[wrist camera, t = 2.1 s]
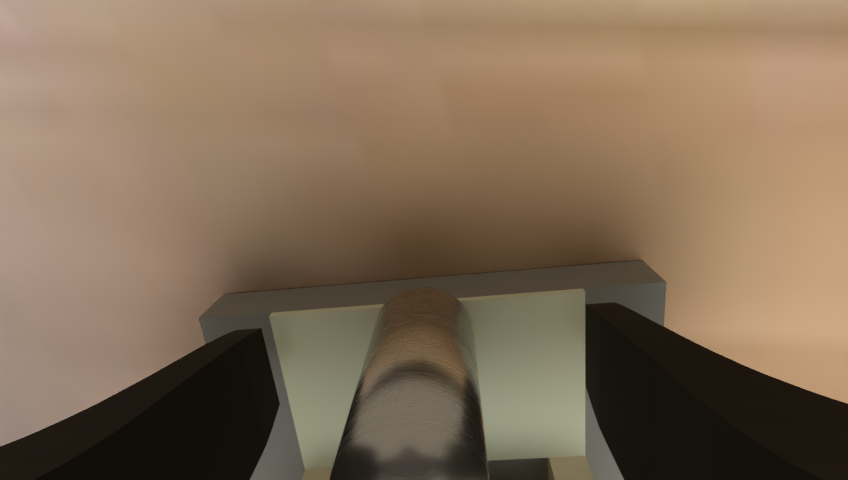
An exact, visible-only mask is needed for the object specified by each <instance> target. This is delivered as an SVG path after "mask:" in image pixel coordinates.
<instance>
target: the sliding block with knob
mask: <svg viewBox="0 0 848 480" xmlns="http://www.w3.org/2000/svg"><path fill="white" fill-rule="evenodd" d="M330 480H489V471H488V462H487V453H486V443H485V434H484V424H483V415H482V406H481V396H480V387H479V377H478V368H477V359H476V349H475V340H474V331H473V324H472V320H471V317H470V315H469V313H468V311H467V309H466V308H465V306H464V305H463V304H462V303H461V302H460V301H459V300H458V299H457V298H455V297H454V296H452V295H451V294H449V293H447V292H445V291H442V290H440V289H436V288H431V287H416V288H410V289H407V290H404V291H402V292H399V293H398V294H396V295H394V296H393V297H392V298H390V299H389V300H388V301H387V302H386V303H385V304H384V306H383V307H382V308H381V310H380V312H379V314H378V317H377V320H376V323H375V327H374V330H373V333H372V337H371V340H370V343H369V347H368V350H367V353H366V357H365V360H364V364H363V367H362V370H361V374H360V377H359V380H358V384H357V387H356V390H355V394H354V397H353V401H352V404H351V407H350V411H349V414H348V417H347V421H346V424H345V427H344V431H343V434H342V437H341V441H340V444H339V448H338V451H337V454H336V458H335V461H334V464H333V468H332V471H331V475H330Z"/></svg>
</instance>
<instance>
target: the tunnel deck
mask: <svg viewBox="0 0 848 480" xmlns="http://www.w3.org/2000/svg"><path fill="white" fill-rule="evenodd" d="M416 287H431V288H436V289H440V290H442V291H445V292H447V293H449V294H451V295H452V296H454V297H455V298H457V299H458V300H459V301H460V302H461V303H462V304H463V305H464V306H465V308H466V309H467V311H468V313H469V315H470V317H471V320H472V324H473V331H474V340H475V349H476V359H477V368H478V377H479V387H480V396H481V406H482V415H483V424H484V434H485V443H486V453H487V462H488V471H489V480H624V478H623V476H622V474H621V472H620V470H619V468H618V466H617V464H616V462H615V460H614V458H613V456H612V454H611V451H610V449H609V447H608V445H607V443H606V441H605V439H604V437H603V435H602V432H601V430H600V428H599V426H598V423H597V420H596V417H595V414H594V411H593V408H592V405H591V402H590V398H589V395H588V392H587V389H586V386H585V304H597V303H610V302H616V303H618V304H621V305H623V306H625V307H627V308H629V309H631V310H633V311H635V312H637V313H639V314H641V315H643V316H644V317H646V318H648V319H650V320H652V321H654V322H656V323H658V324H659V325H661V326H664V309H665V291H666V282H665V281H664V280H663V279H662V278H661V277H660V276H659V275H658V274H657V273H656V272H654V271H653V270H652V269H651V268H650V267H649V266H648V265H647V264H646V263H645V262H644V261H642V260H638V261H626V262H613V263H601V264H589V265H577V266H564V267H552V268H540V269H527V270H515V271H503V272H491V273H478V274H466V275H454V276H442V277H429V278H417V279H405V280H393V281H380V282H368V283H356V284H343V285H331V286H319V287H307V288H294V289H282V290H270V291H258V292H245V293H233V294H224V295H223V296H222V297H221V298H220V299H219V300H218V301H216V302H215V303H214V304H213V305H212V306H211V307H210V308H209V309H208V310H207V311H206V312H205V313H204V314H203V315H202V316H201V317H200V318H199V321H200V324H201V328H202V331H203V335H204V338H205V342H206V344H207V343H209V342H211V341H213V340H215V339H217V338H219V337H221V336H223V335H225V334H227V333H230V332H232V331H235V330H243V329H256V328H262V332H263V336H264V341H265V345H266V349H267V353H268V357H269V361H270V365H271V369H272V373H273V378H274V382H275V386H276V390H277V394H278V398H279V402H280V405H279V408H278V412H277V415H276V418H275V421H274V425H273V428H272V431H271V433H270V436H269V439H268V442H267V445H266V447H265V449H264V451H263V453H262V456H261V458H260V460H259V462H258V464H257V466H256V468H255V470H254V472H253V474H252V476H251V478H250V480H330V475H331V471H332V468H333V464H334V461H335V458H336V454H337V451H338V448H339V444H340V441H341V437H342V434H343V431H344V427H345V424H346V421H347V417H348V414H349V411H350V407H351V404H352V401H353V397H354V394H355V390H356V387H357V384H358V380H359V377H360V374H361V370H362V367H363V364H364V360H365V357H366V353H367V350H368V347H369V343H370V340H371V337H372V333H373V330H374V327H375V323H376V320H377V317H378V314H379V312H380V310H381V308H382V307H383V306H384V304H385V303H386V302H387V301H388V300H389V299H390V298H392V297H393V296H394V295H396V294H398V293H399V292H402V291H404V290H407V289H410V288H416Z"/></svg>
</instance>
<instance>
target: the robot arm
mask: <svg viewBox="0 0 848 480" xmlns="http://www.w3.org/2000/svg"><path fill="white" fill-rule="evenodd" d="M585 386H586V389H587V392H588V395H589V398H590V402H591V405H592V408H593V411H594V414H595V417H596V420H597V423H598V426H599V428H600V430H601V432H602V435H603V437H604V439H605V441H606V443H607V445H608V447H609V449H610V451H611V454H612V456H613V458H614V460H615V462H616V464H617V466H618V468H619V470H620V472H621V474H622V476H623V478H624V480H848V404H847V403H843V402H840V401H837V400H834V399H831V398H828V397H825V396H822V395H819V394H816V393H813V392H810V391H808V390H805V389H802V388H800V387H797V386H794V385H792V384H789V383H786V382H784V381H781V380H778V379H776V378H773V377H770V376H768V375H765V374H763V373H760V372H758V371H755V370H753V369H751V368H748V367H746V366H744V365H741V364H739V363H737V362H735V361H733V360H730V359H728V358H726V357H724V356H722V355H719V354H717V353H715V352H713V351H711V350H709V349H707V348H704V347H702V346H700V345H698V344H696V343H694V342H692V341H690V340H688V339H686V338H684V337H682V336H680V335H679V334H677V333H675V332H673V331H671V330H669V329H667V328H665V327H663V326H661V325H659V324H658V323H656V322H654V321H652V320H650V319H648V318H646V317H644V316H643V315H641V314H639V313H637V312H635V311H633V310H631V309H629V308H627V307H625V306H623V305H621V304H618V303H616V302H610V303H597V304H585ZM279 405H280V402H279V398H278V394H277V390H276V386H275V382H274V378H273V373H272V369H271V365H270V361H269V357H268V353H267V349H266V345H265V341H264V336H263V332H262V328H256V329H243V330H235V331H232V332H230V333H227V334H225V335H223V336H221V337H219V338H217V339H215V340H213V341H211V342H209V343H207V344H205V345H204V346H202V347H200V348H198V349H196V350H195V351H193V352H191V353H189V354H188V355H186V356H184V357H182V358H181V359H179V360H177V361H175V362H173V363H172V364H170V365H168V366H166V367H165V368H163V369H161V370H159V371H158V372H156V373H154V374H152V375H151V376H149V377H147V378H145V379H143V380H141V381H139V382H137V383H136V384H134V385H132V386H130V387H128V388H126V389H124V390H122V391H121V392H119V393H117V394H115V395H113V396H111V397H109V398H107V399H106V400H104V401H102V402H100V403H98V404H96V405H94V406H92V407H90V408H88V409H86V410H84V411H82V412H79V413H77V414H75V415H73V416H71V417H69V418H67V419H64V420H62V421H60V422H58V423H56V424H53V425H51V426H49V427H47V428H45V429H42V430H40V431H38V432H36V433H33V434H31V435H29V436H26V437H24V438H21V439H19V440H16V441H14V442H11V443H9V444H6V445H4V446H1V447H0V480H250V478H251V476H252V474H253V472H254V470H255V468H256V466H257V464H258V462H259V460H260V458H261V456H262V453H263V451H264V449H265V447H266V445H267V442H268V439H269V436H270V433H271V431H272V428H273V425H274V421H275V418H276V415H277V412H278V408H279Z"/></svg>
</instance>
